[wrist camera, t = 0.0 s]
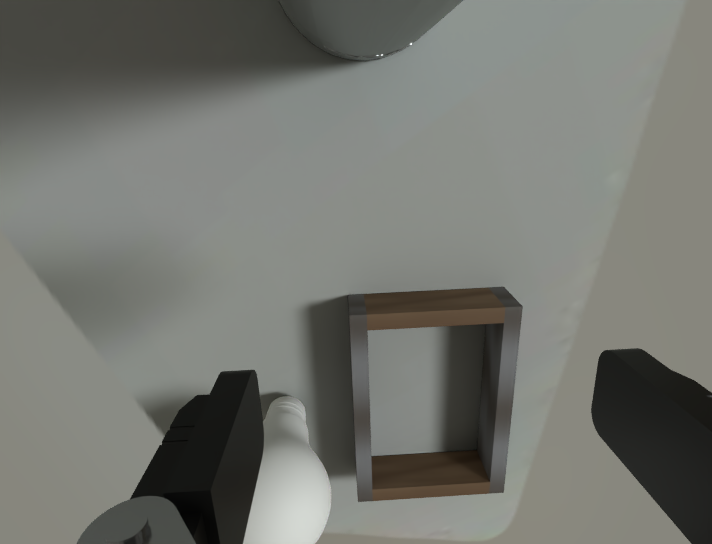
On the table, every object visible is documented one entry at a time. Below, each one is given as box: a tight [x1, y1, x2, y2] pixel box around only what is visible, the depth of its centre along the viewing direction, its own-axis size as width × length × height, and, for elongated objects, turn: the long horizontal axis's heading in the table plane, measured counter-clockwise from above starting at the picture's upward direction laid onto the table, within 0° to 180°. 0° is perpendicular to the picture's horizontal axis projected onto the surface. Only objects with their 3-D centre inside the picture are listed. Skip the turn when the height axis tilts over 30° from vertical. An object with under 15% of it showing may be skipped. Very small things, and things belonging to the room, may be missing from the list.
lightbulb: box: [243, 396, 331, 544], centre depth 26 cm, size 6×6×11 cm
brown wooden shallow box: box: [348, 287, 523, 502], centre depth 29 cm, size 14×10×3 cm
